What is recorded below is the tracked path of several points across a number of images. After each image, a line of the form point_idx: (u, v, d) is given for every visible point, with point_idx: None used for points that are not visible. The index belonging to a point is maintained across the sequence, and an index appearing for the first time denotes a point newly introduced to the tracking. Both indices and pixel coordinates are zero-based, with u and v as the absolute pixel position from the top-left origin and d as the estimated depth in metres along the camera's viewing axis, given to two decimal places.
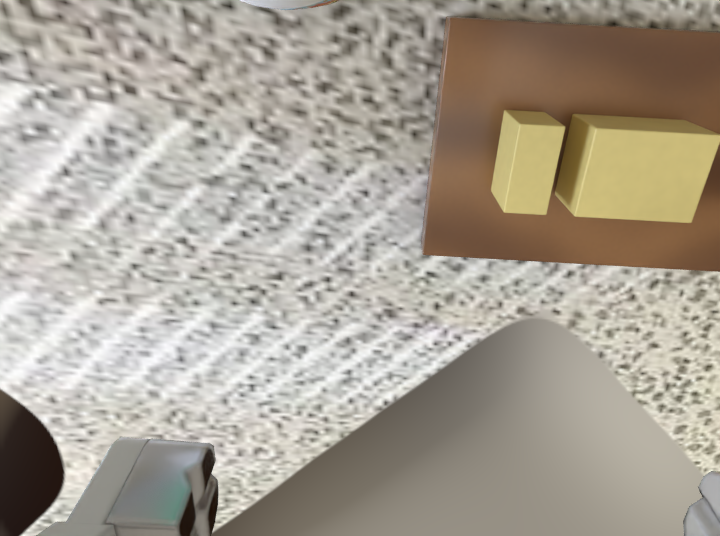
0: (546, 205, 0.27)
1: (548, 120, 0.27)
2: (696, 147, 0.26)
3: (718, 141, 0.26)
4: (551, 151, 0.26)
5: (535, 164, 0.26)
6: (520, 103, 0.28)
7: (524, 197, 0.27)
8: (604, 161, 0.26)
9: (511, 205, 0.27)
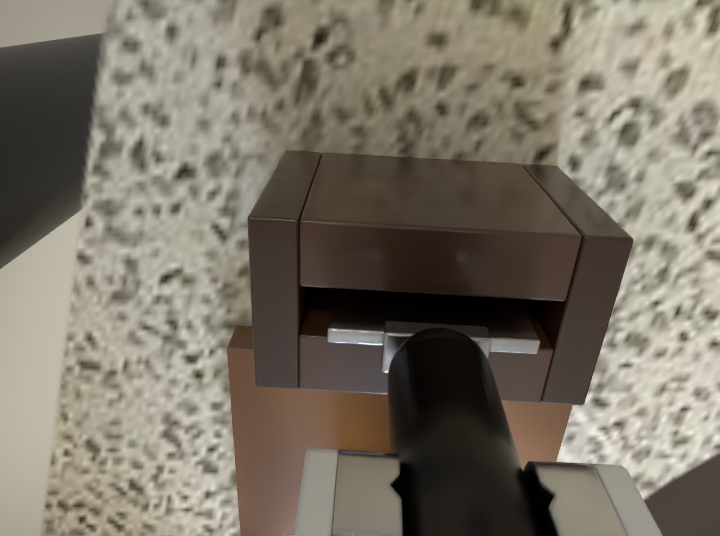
0: None
1: None
2: None
3: None
4: None
5: None
6: None
7: None
8: None
9: None
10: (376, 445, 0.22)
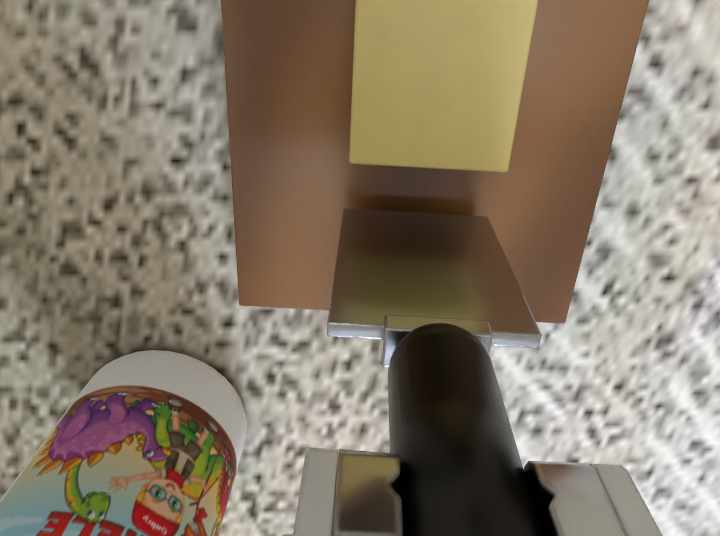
0: None
1: None
2: None
3: None
4: None
5: None
6: (339, 212, 0.20)
7: None
8: (406, 139, 0.15)
9: None
10: None
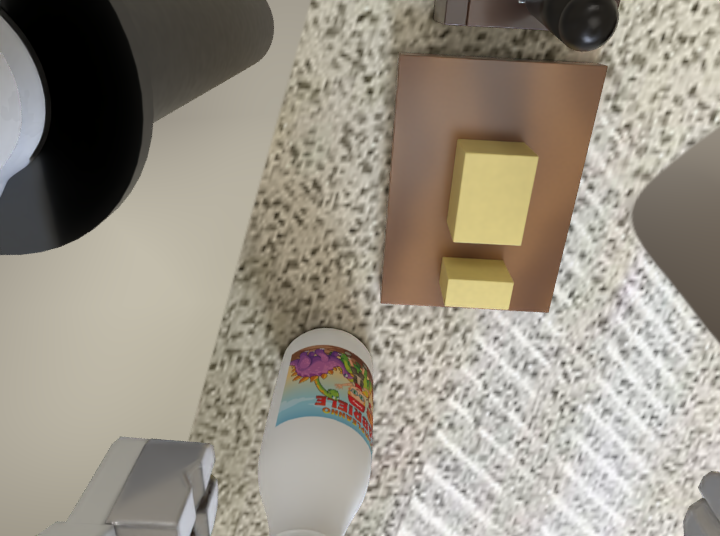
0: (506, 283, 0.37)
1: (445, 276, 0.38)
2: (473, 169, 0.33)
3: (470, 154, 0.33)
4: (465, 285, 0.37)
5: (473, 294, 0.37)
6: (436, 257, 0.40)
7: (497, 298, 0.37)
8: (478, 232, 0.35)
9: (503, 305, 0.38)
10: (481, 129, 0.36)
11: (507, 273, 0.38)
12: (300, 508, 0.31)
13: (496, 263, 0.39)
